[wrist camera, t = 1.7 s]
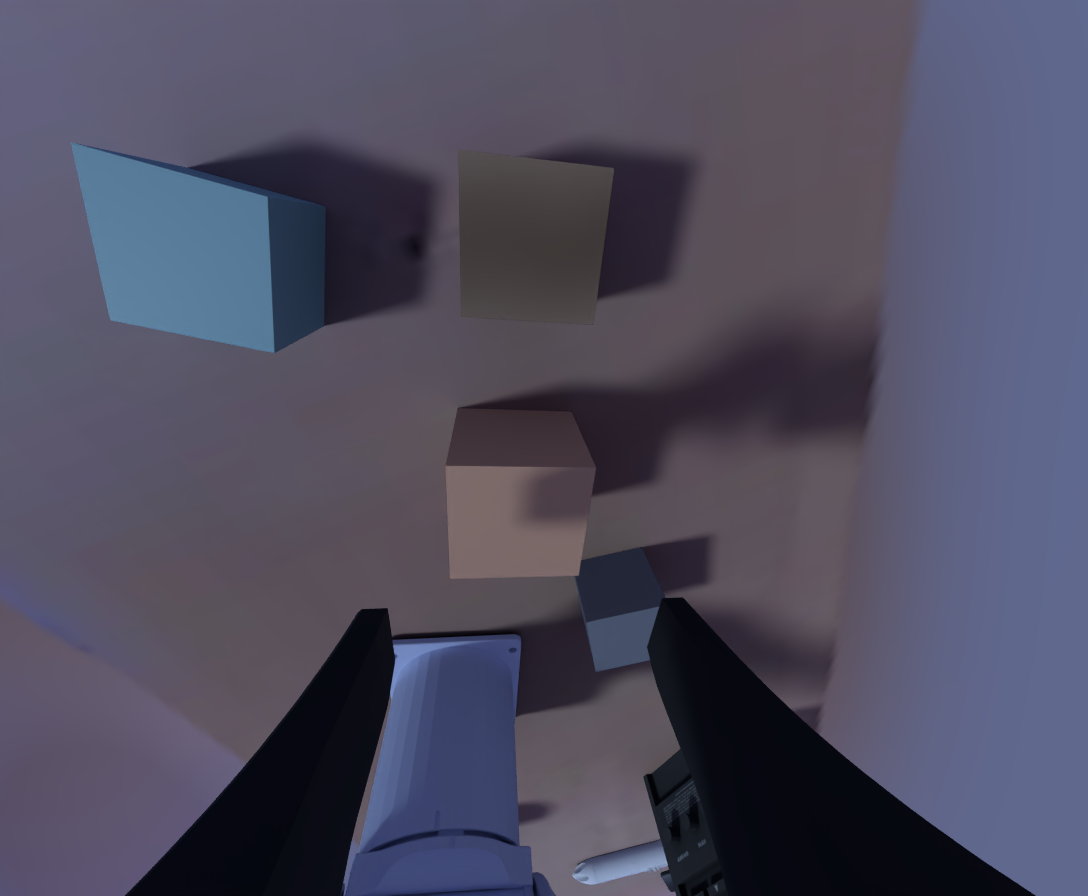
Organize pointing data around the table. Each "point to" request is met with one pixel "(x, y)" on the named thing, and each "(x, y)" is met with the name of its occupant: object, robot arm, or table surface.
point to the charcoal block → (618, 607)
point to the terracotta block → (517, 494)
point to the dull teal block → (203, 251)
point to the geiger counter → (684, 830)
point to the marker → (621, 863)
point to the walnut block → (531, 237)
